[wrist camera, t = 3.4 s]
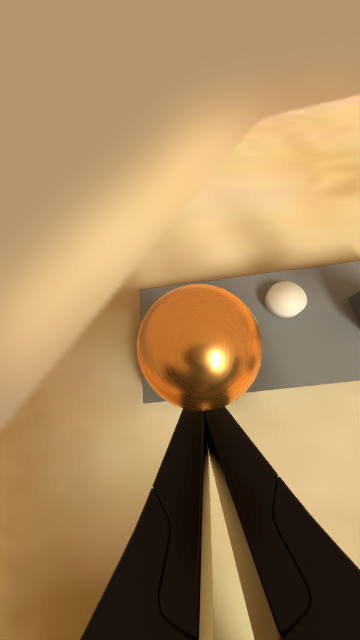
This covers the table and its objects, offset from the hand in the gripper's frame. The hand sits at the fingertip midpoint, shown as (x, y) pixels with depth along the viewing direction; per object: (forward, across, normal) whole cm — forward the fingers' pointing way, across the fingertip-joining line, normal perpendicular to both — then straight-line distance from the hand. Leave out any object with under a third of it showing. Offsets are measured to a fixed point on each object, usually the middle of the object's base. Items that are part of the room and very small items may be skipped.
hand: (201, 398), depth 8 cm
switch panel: (+8, -6, +2) cm, 10 cm away
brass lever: (+5, 0, 0) cm, 5 cm away
